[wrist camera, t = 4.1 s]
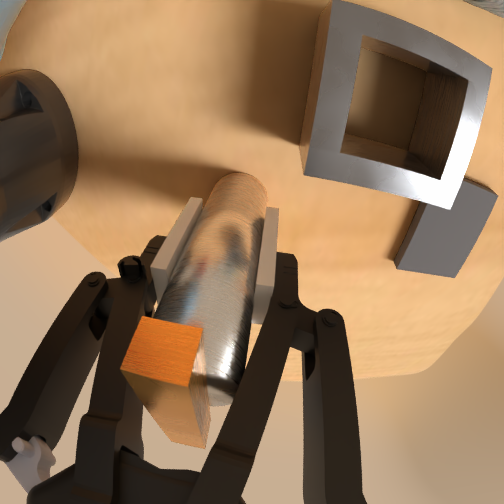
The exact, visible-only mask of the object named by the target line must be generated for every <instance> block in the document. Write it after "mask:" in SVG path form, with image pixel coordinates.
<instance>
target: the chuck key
mask: <svg viewBox="0 0 504 504" xmlns="http://www.w3.org/2000/svg"><path fill="white" fill-rule="evenodd" d="M267 201H268V197H267V192H266V189H265V187H264V186H263V184H262V183H261V182H260V181H259V180H258V179H256V178H255V177H253V176H251V175H249V174H245V173H231V174H228V175H226V176H224V177H222V178H221V179H220V180H219V181H218V182H217V183H216V185H215V187H214V188H213V190H212V192H211V194H210V196H209V198H208V200H207V202H206V204H205V206H204V208H203V210H202V212H201V214H200V216H199V218H198V220H197V222H196V224H195V226H194V228H193V230H192V232H191V234H190V236H189V239H188V241H187V243H186V245H185V247H184V249H183V251H182V253H181V255H180V258H179V260H178V262H177V264H176V266H175V268H174V271H173V273H172V275H171V277H170V280H169V282H168V284H167V286H166V289H165V291H164V293H163V296H162V298H161V300H160V302H159V305H158V307H157V310H156V312H155V314H154V317H153V318H150V317H145V316H142V318H141V320H140V322H139V324H138V327H137V329H136V331H135V334H134V336H133V338H132V341H131V343H130V345H129V348H128V350H127V353H126V355H125V358H124V360H123V363H122V365H121V368H120V370H121V372H122V373H123V375H124V376H125V378H126V380H127V381H128V383H129V384H130V386H131V387H132V389H133V390H134V392H135V393H136V395H137V396H138V398H139V399H140V400H141V402H142V403H143V405H144V406H145V407H146V409H147V410H148V412H149V413H150V414H151V416H152V417H153V418H154V420H155V421H156V422H157V424H158V425H159V426H160V428H161V429H162V430H163V431H164V433H165V434H166V435H167V436H168V438H169V439H170V440H171V441H172V442H176V443H180V444H184V445H189V446H193V447H198V448H203V449H205V447H206V442H207V436H208V431H209V426H210V421H211V418H210V408H209V406H225V405H229V404H232V401H233V399H234V397H235V394H236V392H237V389H238V387H239V384H240V382H241V379H242V377H243V374H244V371H245V365H246V358H247V351H248V344H249V337H250V330H251V322H252V315H253V308H254V294H255V286H256V279H257V272H258V265H259V257H260V250H261V242H262V235H263V227H264V220H265V213H266V207H267Z"/></svg>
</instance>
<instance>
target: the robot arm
mask: <svg viewBox="0 0 504 504" xmlns="http://www.w3.org/2000/svg"><path fill="white" fill-rule="evenodd" d="M26 1H27V0H0V60H1V58H2V55H3V52H4V48H5V44H6V40H7V35H8V33H9V31H10V29H11V28H12V26H13V24H14V22H15V20H16V18H17V16H18V15H19V13H20V11H21V10H22V8H23V6H24V5H25V3H26ZM77 169H78V145H77V137H76V131H75V127H74V123H73V119H72V116H71V113H70V110H69V108H68V105H67V103H66V101H65V99H64V97H63V95H62V93H61V92H60V90H59V89H58V88H57V86H56V85H55V84H54V83H53V82H52V81H51V80H50V79H49V78H48V77H47V76H45V75H44V74H42V73H40V72H38V71H35V70H20V71H17V72H13V73H10V74H7V75H4V76H2V77H0V242H1V241H3V240H5V239H7V238H9V237H12V236H14V235H16V234H18V233H20V232H22V231H24V230H27V229H29V228H31V227H33V226H36V225H38V224H40V223H42V222H44V221H46V220H47V219H49V218H50V217H51V216H52V215H53V214H54V213H55V212H56V211H57V210H58V209H59V208H61V207H62V206H63V205H64V204H65V202H66V201H67V200H68V198H69V197H70V195H71V193H72V190H73V188H74V184H75V181H76V176H77ZM202 199H203V198H195V197H190V199H189V201H188V202H187V204H186V206H185V207H184V209H183V210H182V212H181V214H180V215H179V217H178V219H177V220H176V222H175V224H174V226H173V227H172V229H171V231H170V232H169V234H168V236H167V237H166V236H159V235H157V236H155V237H154V238H153V239H151V240H150V241H149V243H148V245H147V246H146V248H145V249H144V251H143V253H142V254H141V256H140V257H139V256H134V255H133V256H127V257H125V258H123V259H121V260H120V261H119V263H118V264H117V265H118V268H119V272H120V276H121V278H112V279H106V276H105V275H104V274H103V273H101V272H92V273H90V274H88V275H86V276H85V277H84V279H83V280H82V281H81V283H80V284H79V285H78V287H77V288H76V290H75V291H74V293H73V294H72V295H71V297H70V298H69V300H68V301H67V303H66V304H65V306H64V307H63V309H62V310H61V312H60V313H59V315H58V316H57V318H56V320H55V321H54V322H53V324H52V326H51V327H50V329H49V330H48V332H47V334H46V335H45V337H44V339H43V340H42V342H41V344H40V345H39V347H38V349H37V351H36V352H35V354H34V356H33V358H32V359H31V361H30V363H29V365H28V367H27V369H26V370H25V372H24V374H23V376H22V378H21V380H20V382H19V384H18V386H17V388H16V390H15V392H14V394H13V396H12V399H11V401H10V403H9V405H8V406H7V407H6V409H5V410H4V411H3V412H2V413H1V414H0V460H1V461H3V462H5V463H6V465H7V466H8V467H9V469H10V471H11V472H12V473H13V475H14V476H15V478H16V479H17V480H18V481H19V483H20V484H21V485H22V487H23V488H24V489H25V491H26V492H27V493H28V496H27V504H246V503H245V501H244V500H243V498H242V497H241V495H242V492H243V490H244V487H245V484H246V482H247V479H248V477H249V474H250V472H251V469H252V466H253V463H254V459H255V455H256V452H257V449H258V446H259V444H260V441H261V437H262V435H263V432H264V429H265V426H266V423H267V420H268V417H269V414H270V411H271V408H272V405H273V402H274V398H275V395H276V392H277V389H278V385H279V383H280V379H281V376H282V373H283V369H284V366H285V362H286V359H287V355H288V352H289V348H290V347H292V348H295V349H297V350H300V351H302V376H303V417H304V418H303V421H304V422H303V423H304V459H303V460H304V461H303V462H304V463H303V499H304V504H367V502H366V500H365V498H364V495H363V493H362V469H361V451H360V438H359V426H358V417H357V406H356V397H355V390H354V382H353V374H352V367H351V360H350V354H349V347H348V341H347V335H346V329H345V324H344V320H343V317H342V316H341V315H340V314H339V313H338V312H337V311H335V310H332V309H322V310H320V311H319V312H315V311H313V310H310V309H308V308H306V307H305V306H304V305H303V304H302V303H301V302H300V300H299V297H298V270H297V269H298V262H297V260H296V258H295V256H294V254H288V253H281V252H276V250H277V234H278V216H279V208H272V207H266V213H265V220H264V227H263V235H262V242H261V250H260V257H259V265H258V272H257V279H256V286H255V294H254V308H253V315H252V322H251V323H255V324H262V327H261V330H260V332H259V335H258V338H257V340H256V343H255V346H254V348H253V351H252V353H251V356H250V359H249V361H248V364H247V366H246V369H245V371H244V374H243V377H242V379H241V382H240V384H239V387H238V389H237V392H236V394H235V397H234V399H233V401H232V404H231V406H230V409H229V412H228V414H227V416H226V418H225V421H224V423H223V426H222V428H221V430H220V433H219V435H218V438H217V440H216V442H215V444H214V445H213V447H212V449H211V451H210V452H209V455H208V457H207V459H206V461H205V464H204V466H203V468H202V470H201V472H196V471H192V470H177V469H176V470H175V469H159V468H158V467H156V466H154V465H152V464H150V463H149V462H147V461H145V460H143V457H144V447H143V441H142V437H141V429H142V414H143V403H142V402H141V400H140V399H139V398H138V396H137V395H136V393H135V392H134V390H133V389H132V387H131V386H130V384H129V383H128V381H127V380H126V378H125V376H124V375H123V373H122V372H121V370H120V368H121V365H122V363H123V360H124V358H125V355H126V353H127V350H128V348H129V345H130V343H131V341H132V338H133V336H134V334H135V331H136V329H137V327H138V324H139V322H140V320H141V318H142V316H145V317H150V318H153V317H154V314H155V310H154V305H155V302H156V300H157V304H158V305H159V302H160V300H161V298H162V296H163V293H164V291H165V289H166V286H167V284H168V282H169V280H170V277H171V275H172V273H173V271H174V268H175V266H176V264H177V262H178V260H179V258H180V255H181V253H182V251H183V249H184V247H185V245H186V243H187V241H188V239H189V236H190V234H191V232H192V230H193V228H194V226H195V224H196V222H197V220H198V218H199V216H200V214H201V212H202ZM99 352H100V354H99ZM98 354H99V358H98V363H97V368H96V372H95V377H94V383H93V388H92V393H91V399H90V405H89V410H88V412H87V413H86V414H85V415H83V416H82V418H81V420H80V425H79V432H78V440H77V449H76V460H75V464H73V465H71V466H70V467H68V468H66V469H64V470H63V471H61V472H59V473H57V474H56V475H54V476H52V477H50V467H51V466H53V465H54V464H55V462H56V459H55V457H54V456H53V454H52V450H53V449H54V448H55V446H56V445H57V443H58V442H59V440H60V438H61V435H62V434H63V431H64V429H65V427H66V424H67V422H68V419H69V417H70V414H71V412H72V410H73V407H74V405H75V403H76V400H77V398H78V396H79V394H80V392H81V389H82V387H83V385H84V383H85V381H86V379H87V376H88V374H89V372H90V370H91V368H92V366H93V364H94V362H95V360H96V358H97V356H98Z"/></svg>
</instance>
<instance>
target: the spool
mask: <svg viewBox="0 0 504 504" xmlns="http://www.w3.org/2000/svg"><path fill="white" fill-rule="evenodd" d="M463 1H465V2H467V3H469V4H472V5H474V6H476V7H479V8H482V9H484V10H487V11H489V12H491V13H493V14H495V15H498V16H500V17H503V18H504V0H463Z"/></svg>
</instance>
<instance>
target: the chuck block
mask: <svg viewBox="0 0 504 504" xmlns="http://www.w3.org/2000/svg"><path fill="white" fill-rule="evenodd" d="M360 48H364V49H368V50H371V51H374V52H377V53H380V54H383V55H386V56H389V57H392V58H395V59H397V60H400V61H403V62H405V63H408V64H410V65H413V66H415V67H418V68H420V69H422V70H425V71H427V75H426V80H425V85H424V90H423V94H422V99H421V103H420V107H419V112H418V116H417V119H416V123H415V127H414V131H413V134H412V138H411V142H410V145H409V148H408V151H407V150H404V149H401V148H398V147H395V146H391V145H388V144H384V143H381V142H377V141H374V140H370V139H366V138H362V137H358V136H354V135H350V134H346V133H344V132H345V128H346V123H347V119H348V114H349V109H350V104H351V99H352V94H353V89H354V83H355V78H356V72H357V66H358V61H359V54H360ZM491 74H492V68H491V67H489V66H488V65H486V64H485V63H483V62H482V61H480V60H479V59H477V58H476V57H474V56H472V55H471V54H469V53H468V52H466V51H464V50H462V49H461V48H459V47H457V46H456V45H454V44H452V43H450V42H448V41H446V40H444V39H443V38H441V37H439V36H437V35H435V34H433V33H431V32H428V31H426V30H424V29H422V28H420V27H418V26H415V25H413V24H411V23H408V22H406V21H403V20H401V19H398V18H396V17H393V16H390V15H388V14H385V13H382V12H379V11H376V10H373V9H370V8H367V7H363V6H360V5H357V4H353V3H349V2H345V1H341V0H331V1H330V3H329V4H328V5H327V6H326V8H325V9H324V10H323V12H322V13H321V14H320V16H319V22H318V29H317V37H316V44H315V51H314V57H313V64H312V71H311V77H310V84H309V90H308V96H307V102H306V108H305V114H304V120H303V126H302V132H301V138H300V144H299V149H300V155H301V161H302V168H303V174H304V175H306V176H311V177H317V178H322V179H327V180H333V181H338V182H343V183H348V184H352V185H357V186H361V187H366V188H370V189H375V190H379V191H383V192H387V193H391V194H395V195H399V196H403V197H407V198H411V199H414V200H418V201H422V202H425V203H429V204H432V205H436V206H439V207H442V208H446V209H449V210H450V209H451V206H452V204H453V202H454V199H455V197H456V195H457V192H458V190H459V187H460V185H461V182H462V179H463V177H464V174H465V171H466V169H467V166H468V163H469V160H470V157H471V154H472V151H473V148H474V145H475V142H476V138H477V135H478V132H479V128H480V124H481V121H482V117H483V113H484V109H485V104H486V100H487V95H488V90H489V85H490V80H491Z"/></svg>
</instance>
